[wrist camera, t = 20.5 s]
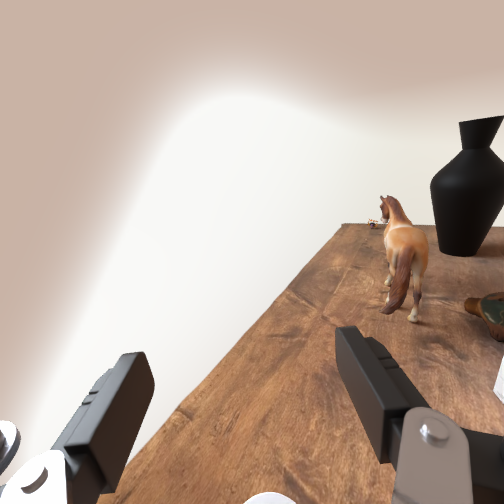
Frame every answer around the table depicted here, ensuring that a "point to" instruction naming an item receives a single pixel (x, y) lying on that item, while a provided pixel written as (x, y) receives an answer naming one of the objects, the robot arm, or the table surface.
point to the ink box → (500, 383)
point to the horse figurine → (403, 256)
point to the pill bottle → (269, 499)
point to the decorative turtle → (489, 312)
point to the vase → (469, 190)
